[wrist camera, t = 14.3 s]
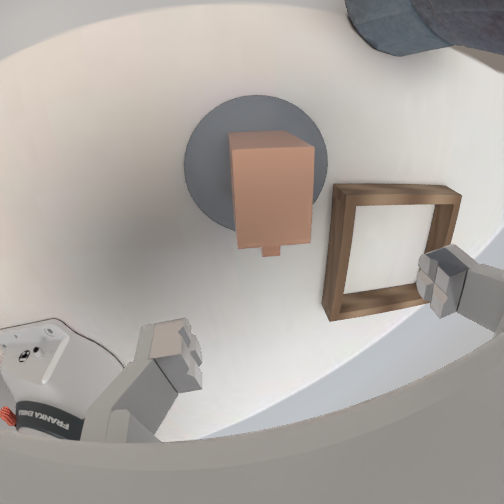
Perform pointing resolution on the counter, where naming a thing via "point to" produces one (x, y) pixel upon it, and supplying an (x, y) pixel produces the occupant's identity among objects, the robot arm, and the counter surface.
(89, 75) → the counter surface
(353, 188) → the frame
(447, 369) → the robot arm
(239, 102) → the slate coaster
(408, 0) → the moka pot
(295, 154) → the terracotta clay block
